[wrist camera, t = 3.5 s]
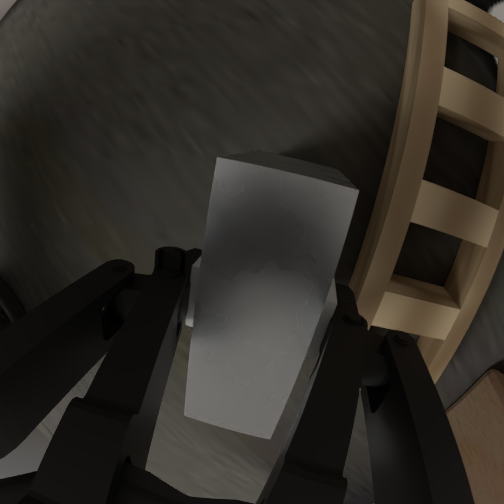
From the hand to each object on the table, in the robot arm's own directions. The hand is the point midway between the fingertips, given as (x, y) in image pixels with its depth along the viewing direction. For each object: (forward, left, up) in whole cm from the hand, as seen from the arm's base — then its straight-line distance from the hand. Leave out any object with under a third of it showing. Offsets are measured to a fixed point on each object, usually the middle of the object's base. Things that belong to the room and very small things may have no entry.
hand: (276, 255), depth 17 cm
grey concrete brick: (0, 0, -4) cm, 4 cm away
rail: (+10, +5, -4) cm, 12 cm away
